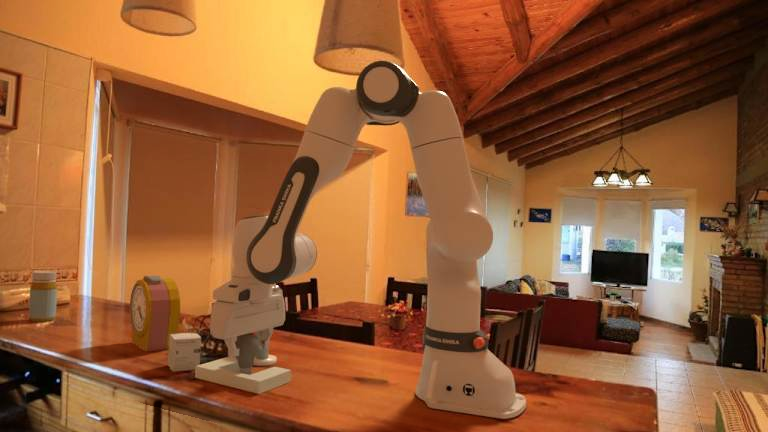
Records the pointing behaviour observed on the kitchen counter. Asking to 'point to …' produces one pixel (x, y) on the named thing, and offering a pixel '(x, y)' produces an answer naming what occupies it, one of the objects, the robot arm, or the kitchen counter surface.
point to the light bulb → (247, 352)
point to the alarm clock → (154, 312)
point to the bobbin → (263, 355)
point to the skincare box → (184, 351)
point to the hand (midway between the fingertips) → (249, 352)
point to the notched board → (242, 376)
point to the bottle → (43, 296)
